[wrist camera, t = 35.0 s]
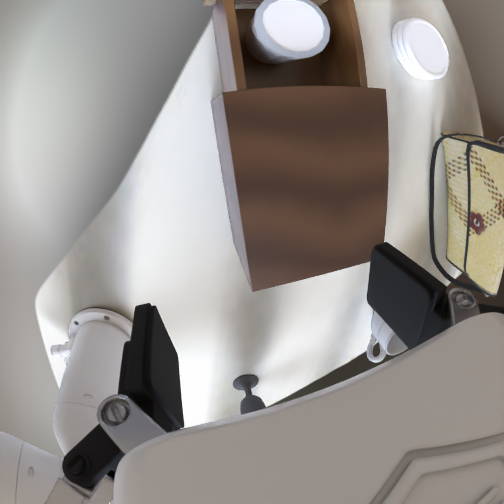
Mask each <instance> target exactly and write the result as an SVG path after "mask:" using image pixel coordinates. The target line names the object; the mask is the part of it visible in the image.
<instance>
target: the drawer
mask: <svg viewBox="0 0 504 504" xmlns="http://www.w3.org/2000/svg"><path fill="white" fill-rule="evenodd" d="M263 1H264V0H203V3H204V6H209V5H214V8H213V12H212V19H213V26H214V33H215V40H216V47H217V54H218V61H219V68H220V75H221V82H222V89H223V92H229V91H237V90H246V89H256V88H268V87H284V86H353V87H367V77H366V69H365V61H364V54H363V47H362V41H361V35H360V30H359V24H358V19H357V14H356V10H355V5H354V1H353V0H328V1H326V0H309V1H311V2H313V3H314V4H316V5H317V6H318V5H320V4H321V3H323V2H324V1H326V2H325V3H323V4H321V5H320V6H318V7H319V8H320V9H321V11H322V12H323V13H324V14H325V16H326V17H327V20H328V24H329V27H330V36H329V42H328V43H327V45H326V46H325V48H324V49H323V51H321V52H319V53H317V54H316V55H314V56H312V57H309V58H304V59H299V60H294V61H290V62H285V63H280V64H274V65H272V64H267V63H262V62H261V61H259V60H257V59H255V58H254V57H253V56H252V55H251V53H250V52H249V51H248V49H247V46H246V43H245V39H246V33H247V31H248V28H249V26H250V23H251V21H252V19H253V16H254V14H255V12H256V9H235V5H234V3H262V2H263Z"/></svg>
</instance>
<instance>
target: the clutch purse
mask: <svg viewBox="0 0 504 504" xmlns="http://www.w3.org/2000/svg"><path fill="white" fill-rule="evenodd" d="M441 135H442V137H441V138H439V140H438V141H437V142H436V143H435V146H434V148H433V153H432V159H431V168H430V210H429V220H430V243H431V254H432V259H433V261H434V263H435V265H436V267H437V268H438V270H439V271H440V272H441V273H442V275H443V276H444V277H445V278H446V279H448V280H449V281H450V282H452V283H453V284H455V285H457V286H460V287H463V288H467V289H470V290H474V291H477V292H480V293H484V294H485V295H486V294H487V295H489V296H491V297H494V296H496V294H497V291H498V287H499V283H500V280H501V276H502V271H503V267H504V144H503V143H504V142H503V143H502V144H503V145H499V144H498V142H501V141H499V140H500V139H501V138H504V137H501V138H500V139H499V140H498V141H496V140H493V139H489V138H486V137H481V136H477V135H471V134H460V133H455V132H448V131H444V132H441ZM472 136H473V137H472ZM475 137H478V138H475ZM479 138H483V139H487V140H491V141H494V142H497V144H496V143H492V142H489V141H485V140H482V139H479ZM442 140H443V147H444V156H445V166H446V178H447V197H448V239H447V255H446V258H447V260H448V261H449V262H450V263H451V264H452V265H453V266H455V267H456V268H457V269H458V270H460V271H461V272H462V273H464V274H465V275H466V277H467V278H468V279H469V281H470V282H471V283H473V284H474V285H475V286H474V285H470V284H467V283H464V282H460V281H458V280H456V279H454V278H453V277H451V276H450V275H449V274H448V273H447V272H446V271H445V270H444V269H443V267H442V266H441V265H440V263H439V262H438V260H437V258H436V254H435V244H434V220H433V209H434V170H435V161H436V154H437V149H438V146H439V144H440V142H441V141H442ZM486 297H488V296H486Z"/></svg>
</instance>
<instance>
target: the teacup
mask: <svg viewBox="0 0 504 504" xmlns="http://www.w3.org/2000/svg"><path fill="white" fill-rule="evenodd" d="M371 330H372V334H371V340H370V342H369V344H368V348H367V357H368V359H369V360H371V361H372V362H380V361H382V360H383V359H384V357H385V355H386V353H387V354H388V355H396V354H399V353H401V352H403V351H405V350H406V349H407V348H408V347H407V346H406V345H405V344H404V343H403V342H402V341H401V339H400V338H399V337H398V336H397V335H396V334H395V333H394V331H393V330H392V329H391V328H390V327H389V326H388V325H387V324H386V323H385V321H384V320H383V319H382V318H381V317H380V316H379V315H378V314H377V313H376V312H375V311H374V314H373V317H372V321H371ZM376 340H377V341H378V342H379V343H380V348H381V352H380V355H379V356H378V357H374V356H373V355H372V350H373V346H374V344H375V342H376Z"/></svg>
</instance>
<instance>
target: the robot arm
mask: <svg viewBox="0 0 504 504" xmlns="http://www.w3.org/2000/svg"><path fill="white" fill-rule="evenodd" d="M446 289H447V286H445V285H444V284H443V283H441V282H440V281H439V280H438V279H436V278H435V277H434V276H433V275H431V274H430V273H429V272H427V271H426V270H425V269H423V268H422V267H421V266H419V265H418V264H417V263H415V262H414V261H413V260H411V259H410V258H409V257H407V256H406V255H404V254H403V253H402V252H400V251H399V250H398V249H396V248H395V247H393V246H392V245H390V244H389V243H387V242H384V243H381V244H377V245H375V246H374V249H373V250H372V251H371V262H370V273H369V283H368V291H367V301H368V304H369V305H370V306H371V307H372V308H373V309H374V310H375V312H376V313H377V314H378V315H379V316H380V317H381V318H382V319H383V320H384V321H385V323H386V324H387V325H388V326H389V327H390V328H391V329H392V330H393V331H394V333H395V334H396V335H397V336H398V337H399V338H400V339H401V341H402V342H403V343H404V344H405V345H406V346H407V347H408V348H409V349H410V350H409V351H407V352H405V353H403V354H401V355H400V356H398V357H396V358H394V359H392V360H390V361H387V362H386V363H383V364H381V365H379V366H377V367H375V368H373V369H371V370H368V371H366V372H364V373H362V374H359V375H357V376H355V377H353V378H350V379H348V380H345V381H343V382H340V383H338V384H335V385H333V386H330V387H328V388H325V389H323V390H320V391H317V392H314V393H311V394H309V395H306V396H303V397H300V398H297V399H294V400H291V401H288V402H285V403H282V404H278V405H275V406H272V407H269V408H265V409H261V410H258V411H254V412H250V413H247V414H243V415H239V416H235V417H231V418H227V419H223V420H219V421H214V422H210V423H205V424H201V425H196V426H192V427H188V428H184V419H183V409H182V399H181V388H180V376H179V361H178V355H177V352H176V350H175V348H174V346H173V344H172V341H171V339H170V337H169V335H168V333H167V330H166V328H165V326H164V324H163V321H162V319H161V317H160V314H159V312H158V310H157V308H156V306H151V304H150V303H147V304H142V305H138V306H136V307H135V312H134V318H133V323H132V322H131V321H129V320H128V319H126V318H125V317H123V316H122V315H120V314H118V313H115V312H113V311H110V310H106V309H99V308H91V309H86V310H82V311H80V312H79V313H77V314H76V315H75V316H74V317H73V318H72V320H71V322H70V325H69V328H68V335H69V339H70V341H69V342H65V344H64V345H53V346H51V354H52V355H53V356H54V357H60V356H64V355H67V356H68V357H65V363H66V369H65V372H64V375H63V379H62V383H61V387H60V390H59V394H58V399H57V403H56V407H55V411H54V416H53V428H54V433H55V436H56V439H57V441H58V443H59V445H60V447H61V449H62V451H63V453H64V455H65V457H64V458H62V457H58V456H56V455H54V454H51V453H49V452H46V451H44V450H42V449H40V448H37V447H35V446H33V445H31V444H29V443H27V442H25V441H23V440H21V439H19V438H17V437H15V436H13V435H11V434H8V433H6V432H2V431H0V504H504V308H503V307H497V306H491V305H484V304H478V302H477V299H476V297H475V295H474V294H473V293H472V292H470V291H469V290H466V289H463V288H454V289H452V290H451V291H450V292H449V293H448V294H446V293H445V292H446ZM180 428H183V429H180Z"/></svg>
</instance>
